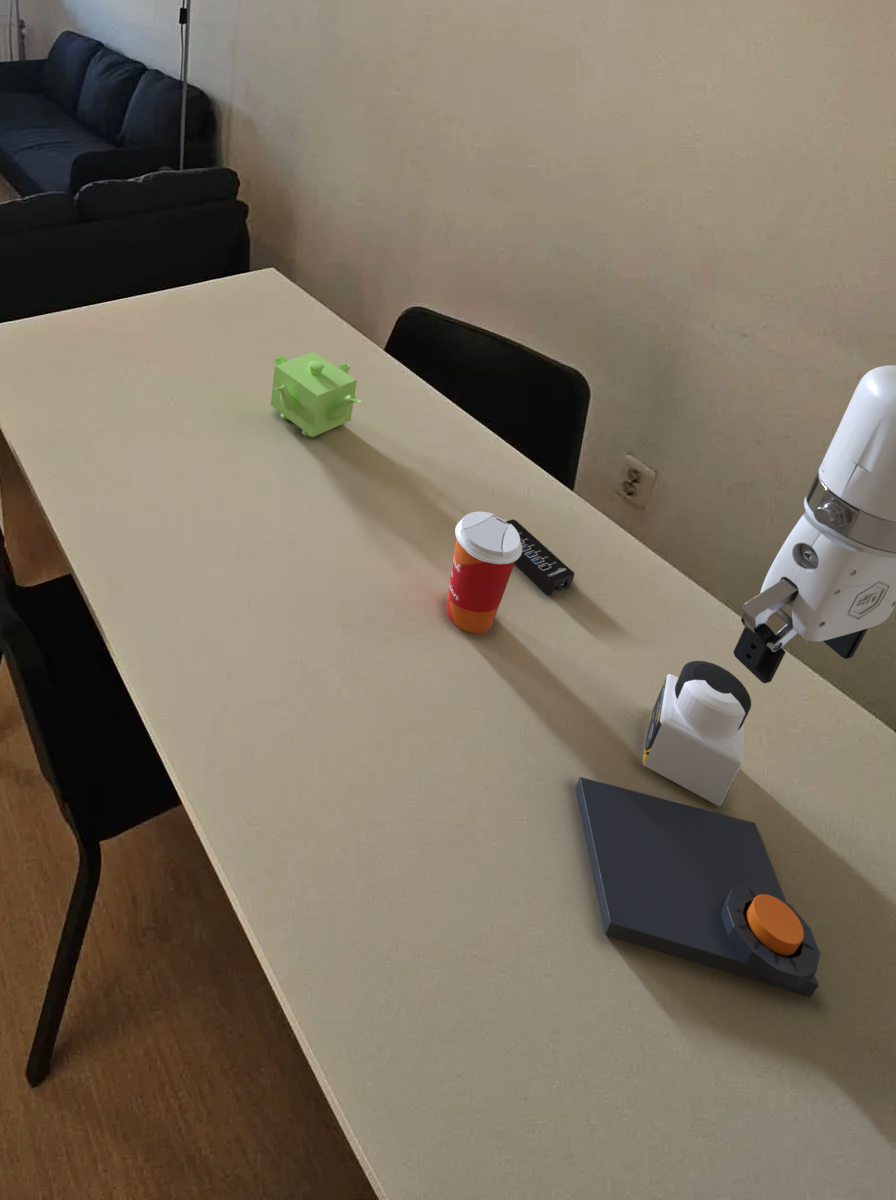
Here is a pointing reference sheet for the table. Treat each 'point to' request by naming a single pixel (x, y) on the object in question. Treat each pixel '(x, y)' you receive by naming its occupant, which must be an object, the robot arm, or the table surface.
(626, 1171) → the table surface
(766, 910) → the button
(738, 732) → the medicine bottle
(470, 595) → the paper cup
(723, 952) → the scale
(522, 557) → the multiport hub
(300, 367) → the kettle
